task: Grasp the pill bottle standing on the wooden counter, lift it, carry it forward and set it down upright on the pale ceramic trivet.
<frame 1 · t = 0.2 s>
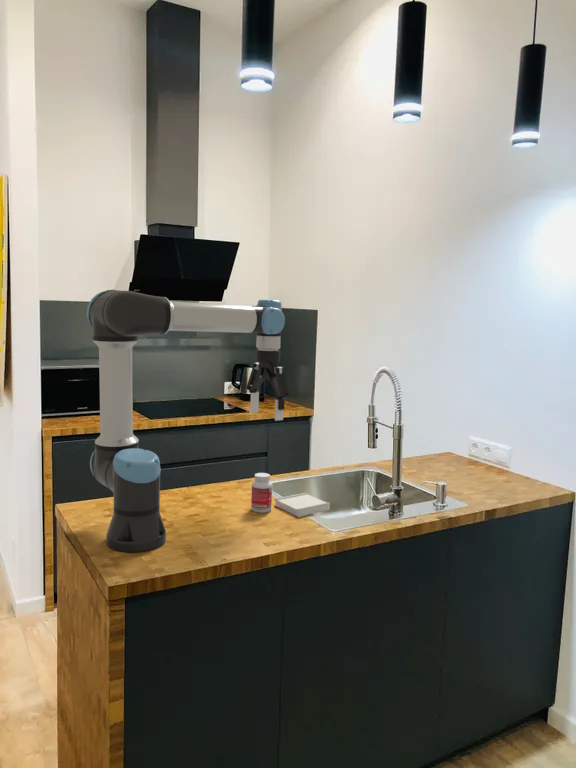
hand: (266, 416, 201), 27 cm above the worktop, fingers open, 13 cm apart
trivet: (302, 507, 197), on the worktop
pill bottle: (261, 510, 194), on the worktop
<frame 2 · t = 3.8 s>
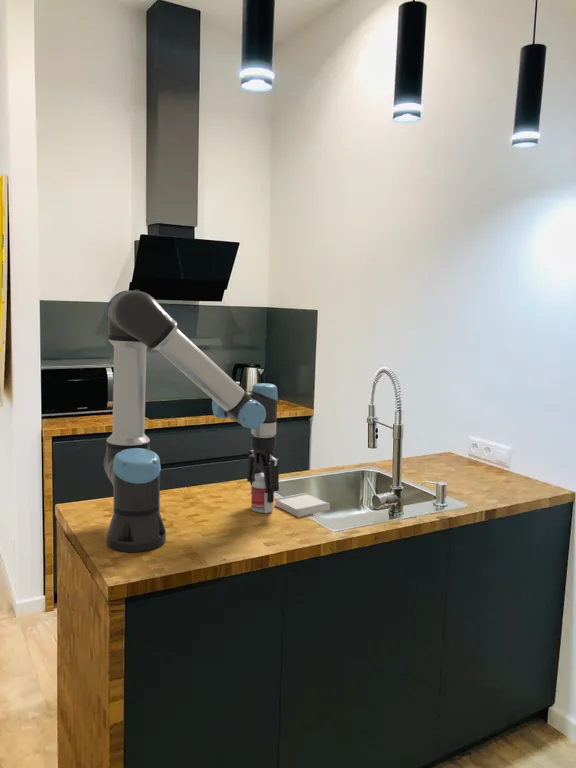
hand: (261, 508, 194), 0 cm above the worktop, fingers closed on pill bottle, 6 cm apart
pill bottle: (261, 510, 194), on the worktop, touching gripper
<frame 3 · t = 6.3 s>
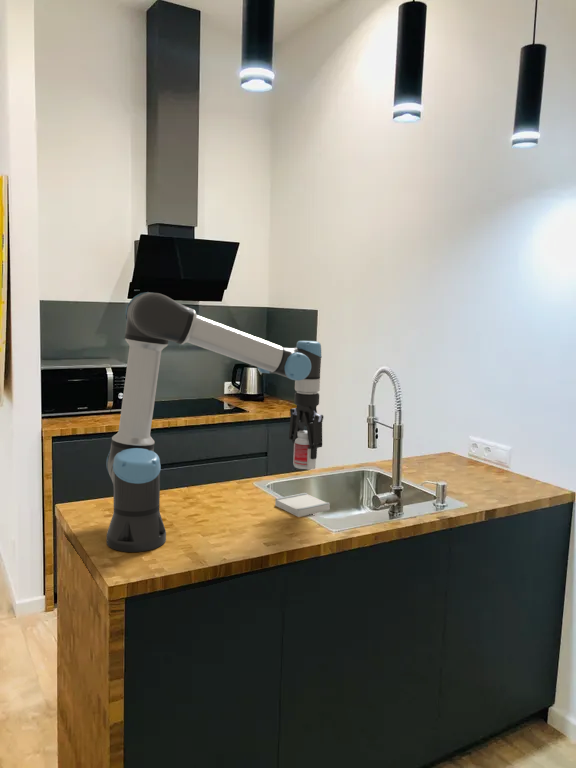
hand: (304, 466, 195), 13 cm above the worktop, fingers closed on pill bottle, 6 cm apart
pill bottle: (303, 467, 195), point 13 cm above the worktop, touching gripper
when the fingers open (3 cm above the worktop, at t = 8.7 s): pill bottle drops 1 cm, resting on trivet.
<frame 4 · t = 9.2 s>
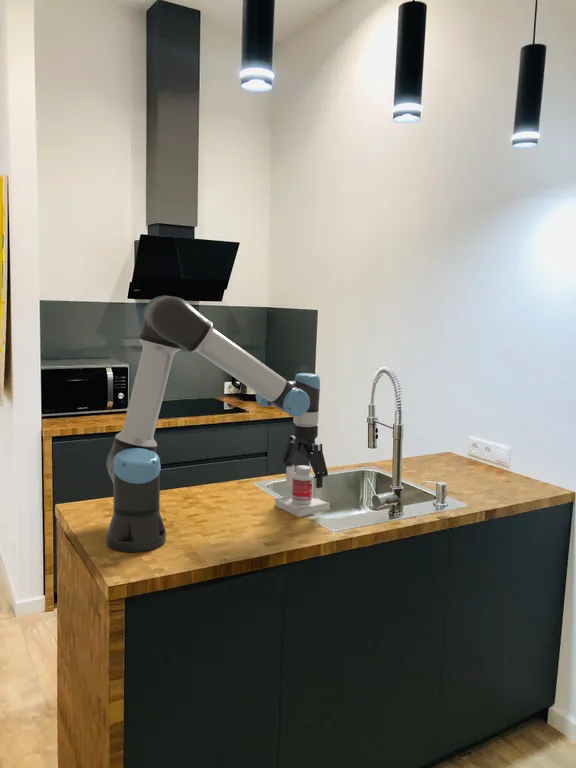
hand: (302, 491, 197), 5 cm above the worktop, fingers open, 13 cm apart
pill bottle: (301, 502, 197), point 2 cm above the worktop, touching trivet
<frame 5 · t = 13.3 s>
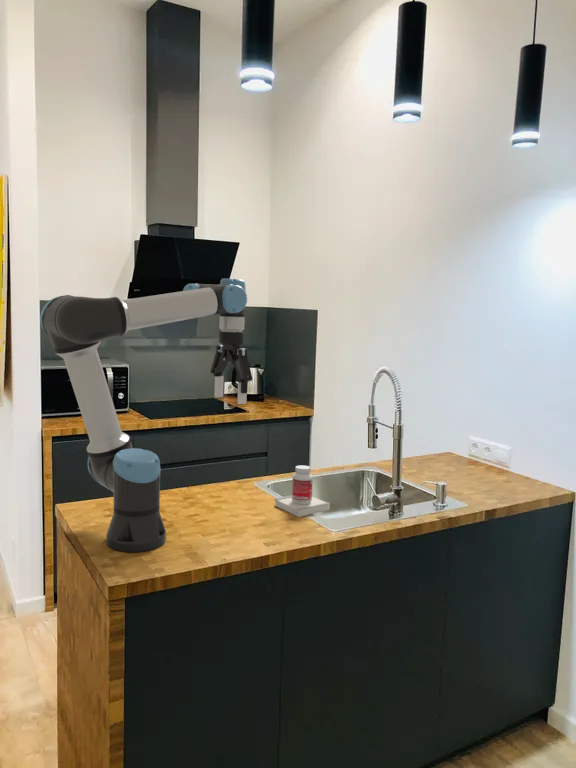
hand: (230, 400, 194), 33 cm above the worktop, fingers open, 13 cm apart
nothing on the worktop moved.
at the end: pill bottle inside the target area on the trivet (0.3 cm from its centre), point 1.8 cm above the trivet's base; pill bottle tilted 0°; the gripper is holding nothing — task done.
